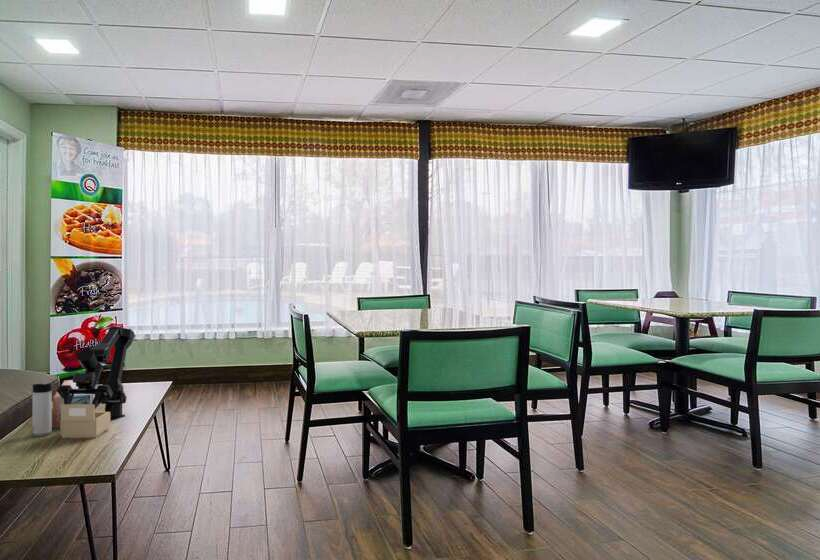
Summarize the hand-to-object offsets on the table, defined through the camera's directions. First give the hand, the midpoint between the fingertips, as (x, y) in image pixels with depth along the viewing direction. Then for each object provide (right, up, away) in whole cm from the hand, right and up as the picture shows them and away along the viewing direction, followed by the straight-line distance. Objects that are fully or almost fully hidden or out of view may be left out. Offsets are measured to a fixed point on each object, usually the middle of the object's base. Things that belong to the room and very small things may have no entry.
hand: (77, 411), depth 223 cm
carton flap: (0, 0, 0) cm, 0 cm away
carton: (-1, -10, +7) cm, 12 cm away
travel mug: (-17, -10, +5) cm, 20 cm away
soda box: (-20, -10, +34) cm, 41 cm away
